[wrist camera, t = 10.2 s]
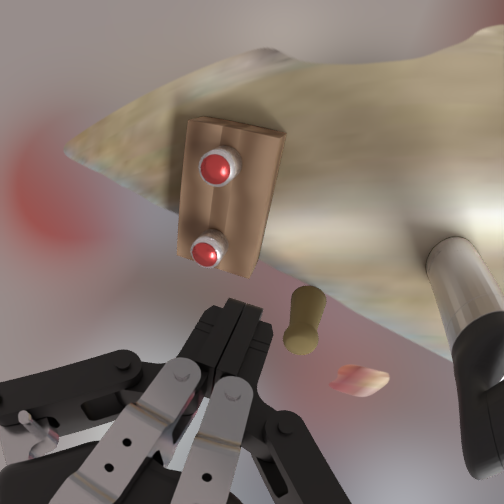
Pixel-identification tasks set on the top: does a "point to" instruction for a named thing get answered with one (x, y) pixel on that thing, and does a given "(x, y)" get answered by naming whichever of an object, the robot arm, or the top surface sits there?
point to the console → (229, 190)
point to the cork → (304, 320)
